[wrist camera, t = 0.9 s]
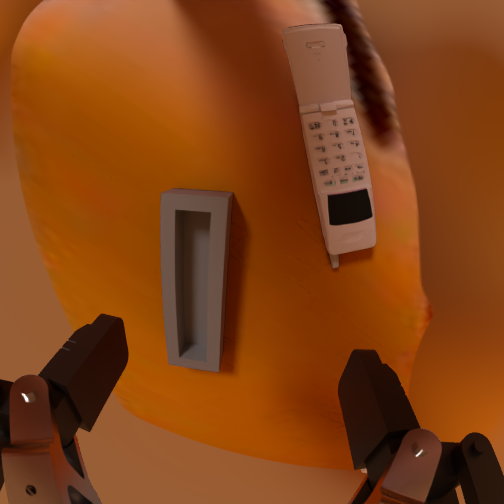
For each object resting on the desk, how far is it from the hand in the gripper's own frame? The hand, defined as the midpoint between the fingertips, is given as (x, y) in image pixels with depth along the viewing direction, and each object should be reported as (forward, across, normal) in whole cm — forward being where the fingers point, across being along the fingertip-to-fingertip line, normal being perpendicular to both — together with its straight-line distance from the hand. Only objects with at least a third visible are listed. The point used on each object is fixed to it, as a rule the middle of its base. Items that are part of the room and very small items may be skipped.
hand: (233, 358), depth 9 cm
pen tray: (+22, +6, +8) cm, 24 cm away
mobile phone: (+22, -7, -8) cm, 25 cm away
